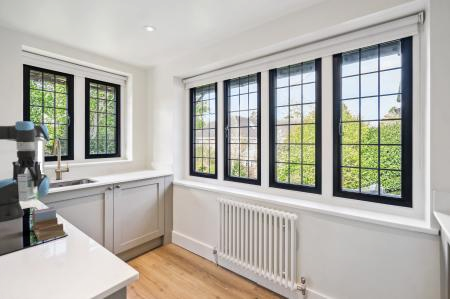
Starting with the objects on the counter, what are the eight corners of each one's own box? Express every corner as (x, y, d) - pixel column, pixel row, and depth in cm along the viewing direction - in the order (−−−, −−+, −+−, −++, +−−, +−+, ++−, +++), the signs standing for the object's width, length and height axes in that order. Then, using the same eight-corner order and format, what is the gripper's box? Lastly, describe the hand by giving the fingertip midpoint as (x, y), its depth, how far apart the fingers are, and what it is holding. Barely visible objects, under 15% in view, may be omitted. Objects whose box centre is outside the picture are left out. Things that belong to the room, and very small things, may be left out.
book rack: (32, 229, 121) (31, 211, 121) (55, 224, 128) (54, 207, 128) (38, 241, 105) (37, 220, 105) (65, 235, 113) (64, 215, 112)
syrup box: (27, 201, 123) (26, 174, 123) (18, 201, 124) (17, 174, 124) (38, 199, 129) (37, 172, 128) (29, 198, 130) (28, 172, 129)
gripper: (1, 150, 122) (4, 194, 123) (38, 150, 122) (40, 194, 123) (14, 150, 129) (16, 191, 130) (49, 149, 129) (51, 191, 130)
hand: (28, 192), depth 127 cm, fingers closed on syrup box, 6 cm apart
